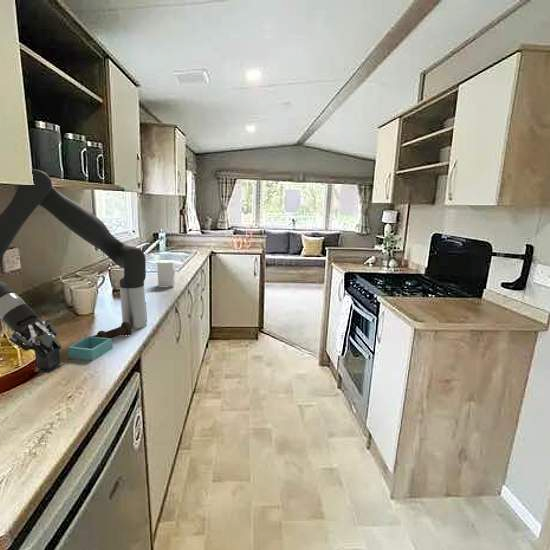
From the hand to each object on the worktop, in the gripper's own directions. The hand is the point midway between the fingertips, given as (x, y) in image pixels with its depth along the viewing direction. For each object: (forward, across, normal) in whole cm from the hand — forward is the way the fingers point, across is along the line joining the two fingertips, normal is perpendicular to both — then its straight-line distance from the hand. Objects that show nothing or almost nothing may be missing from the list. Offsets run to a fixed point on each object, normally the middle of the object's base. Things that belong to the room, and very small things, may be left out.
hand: (52, 352), depth 112 cm
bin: (+7, +12, +2) cm, 14 cm away
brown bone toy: (+5, +26, +5) cm, 27 cm away
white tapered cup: (-10, +109, +19) cm, 111 cm away
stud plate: (+3, 0, +6) cm, 7 cm away
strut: (+2, 0, +4) cm, 5 cm away
